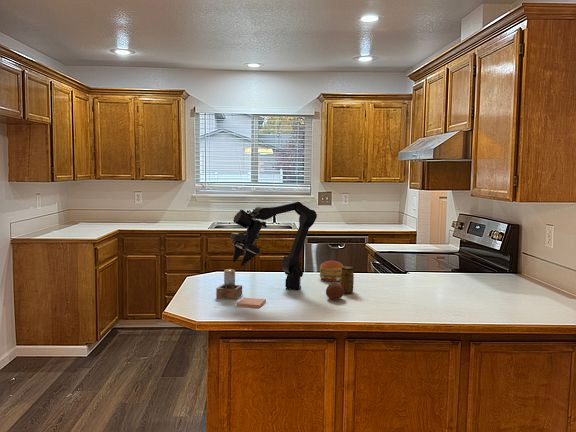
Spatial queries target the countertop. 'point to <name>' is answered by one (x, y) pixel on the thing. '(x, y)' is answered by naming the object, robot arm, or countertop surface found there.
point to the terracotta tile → (251, 302)
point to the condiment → (347, 280)
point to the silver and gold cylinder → (229, 279)
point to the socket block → (229, 292)
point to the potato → (334, 291)
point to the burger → (331, 271)
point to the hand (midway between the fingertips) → (237, 263)
